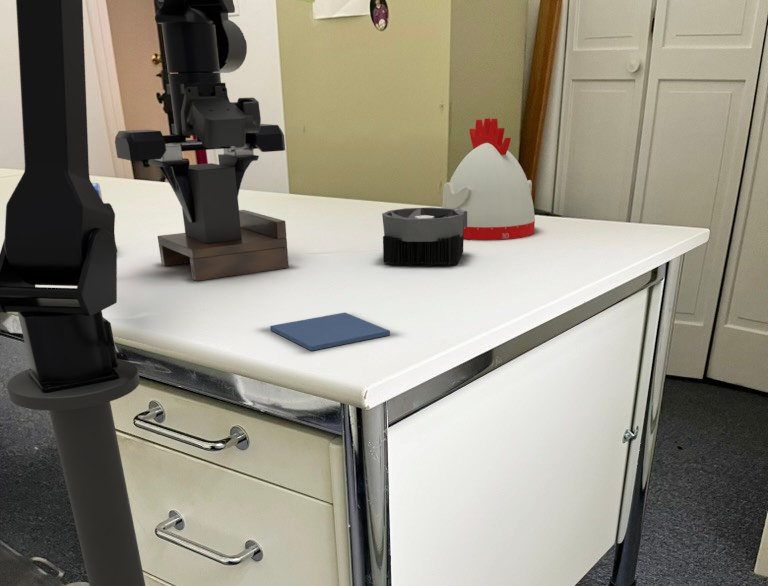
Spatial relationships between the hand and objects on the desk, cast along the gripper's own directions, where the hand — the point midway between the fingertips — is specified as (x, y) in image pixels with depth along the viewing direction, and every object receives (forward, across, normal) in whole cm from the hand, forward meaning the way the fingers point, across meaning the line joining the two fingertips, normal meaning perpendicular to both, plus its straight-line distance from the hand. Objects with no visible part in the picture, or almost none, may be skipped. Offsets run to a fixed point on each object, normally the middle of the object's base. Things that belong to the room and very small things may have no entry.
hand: (211, 220), depth 97 cm
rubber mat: (+6, -3, -34) cm, 35 cm away
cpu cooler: (+6, +23, -12) cm, 27 cm away
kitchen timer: (+6, +42, -1) cm, 42 cm away
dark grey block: (+2, 0, 0) cm, 2 cm away
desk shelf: (+6, +1, 0) cm, 6 cm away
